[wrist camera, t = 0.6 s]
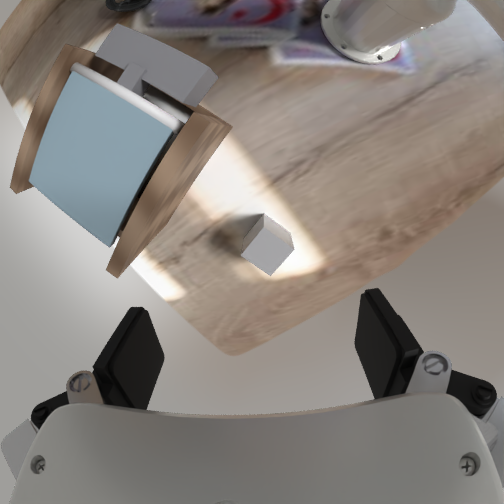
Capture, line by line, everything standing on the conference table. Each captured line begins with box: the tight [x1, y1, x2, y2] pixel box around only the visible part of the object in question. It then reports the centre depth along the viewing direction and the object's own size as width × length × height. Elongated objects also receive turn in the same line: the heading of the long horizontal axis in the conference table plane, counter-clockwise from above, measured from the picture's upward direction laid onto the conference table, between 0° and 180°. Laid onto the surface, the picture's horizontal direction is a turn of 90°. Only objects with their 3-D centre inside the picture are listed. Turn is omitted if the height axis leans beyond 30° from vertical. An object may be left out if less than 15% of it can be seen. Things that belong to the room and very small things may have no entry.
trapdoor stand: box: [10, 44, 232, 278], centre depth 28 cm, size 18×19×16 cm
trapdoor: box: [29, 24, 218, 247], centre depth 23 cm, size 20×15×6 cm
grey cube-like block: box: [241, 214, 294, 276], centre depth 38 cm, size 5×5×6 cm
